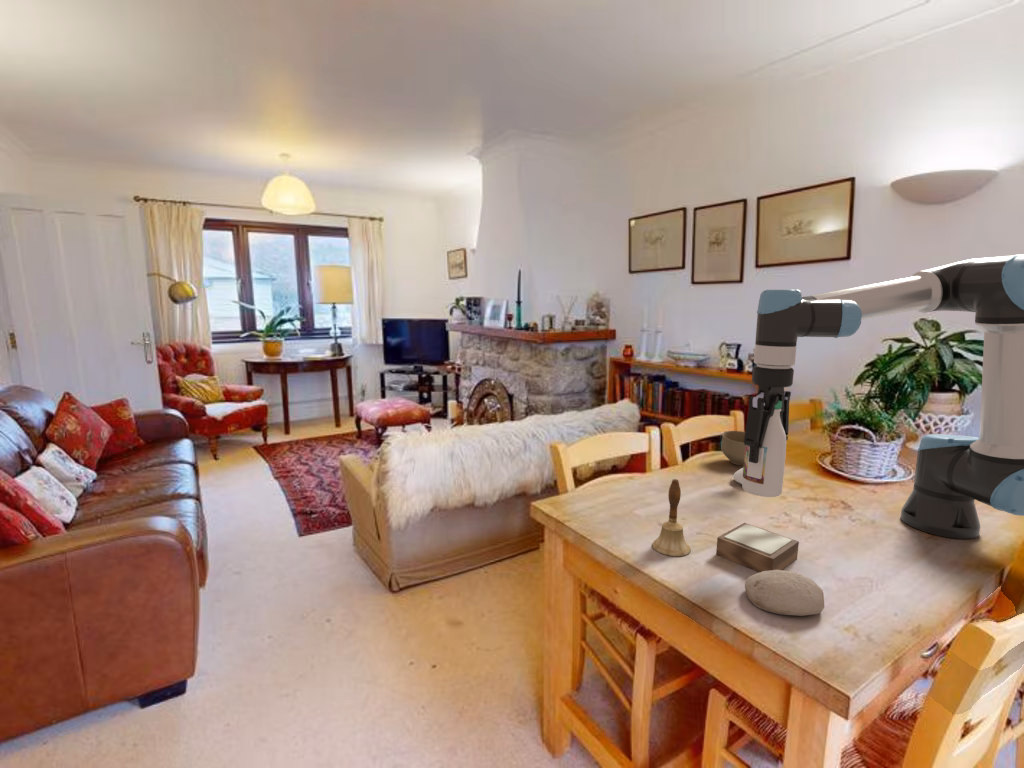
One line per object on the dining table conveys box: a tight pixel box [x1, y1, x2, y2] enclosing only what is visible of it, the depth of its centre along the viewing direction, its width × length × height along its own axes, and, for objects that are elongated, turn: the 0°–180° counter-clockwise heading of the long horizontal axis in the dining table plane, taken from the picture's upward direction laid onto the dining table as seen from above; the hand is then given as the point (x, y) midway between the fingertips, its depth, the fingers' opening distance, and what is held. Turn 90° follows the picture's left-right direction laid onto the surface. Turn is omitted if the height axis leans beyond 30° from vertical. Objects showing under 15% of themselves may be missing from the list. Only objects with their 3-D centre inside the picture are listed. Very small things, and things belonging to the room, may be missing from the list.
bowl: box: [720, 430, 746, 466], centre depth 174 cm, size 13×13×10 cm
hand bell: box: [651, 478, 692, 557], centre depth 114 cm, size 8×8×16 cm
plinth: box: [716, 522, 800, 573], centre depth 111 cm, size 12×12×4 cm
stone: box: [744, 569, 825, 617], centre depth 95 cm, size 13×10×8 cm
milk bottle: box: [741, 400, 787, 498], centre depth 108 cm, size 8×8×20 cm
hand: (763, 472), depth 109 cm, fingers closed on milk bottle, 8 cm apart
